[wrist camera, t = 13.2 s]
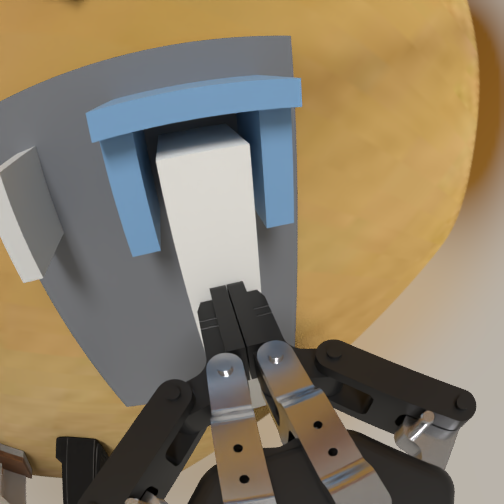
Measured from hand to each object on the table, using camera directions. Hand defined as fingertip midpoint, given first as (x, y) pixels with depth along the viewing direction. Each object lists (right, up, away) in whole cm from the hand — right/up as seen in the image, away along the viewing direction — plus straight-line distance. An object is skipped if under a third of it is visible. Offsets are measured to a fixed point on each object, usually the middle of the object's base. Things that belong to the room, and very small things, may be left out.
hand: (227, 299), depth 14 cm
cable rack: (-4, 0, +5) cm, 6 cm away
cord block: (-1, 0, +5) cm, 5 cm away
